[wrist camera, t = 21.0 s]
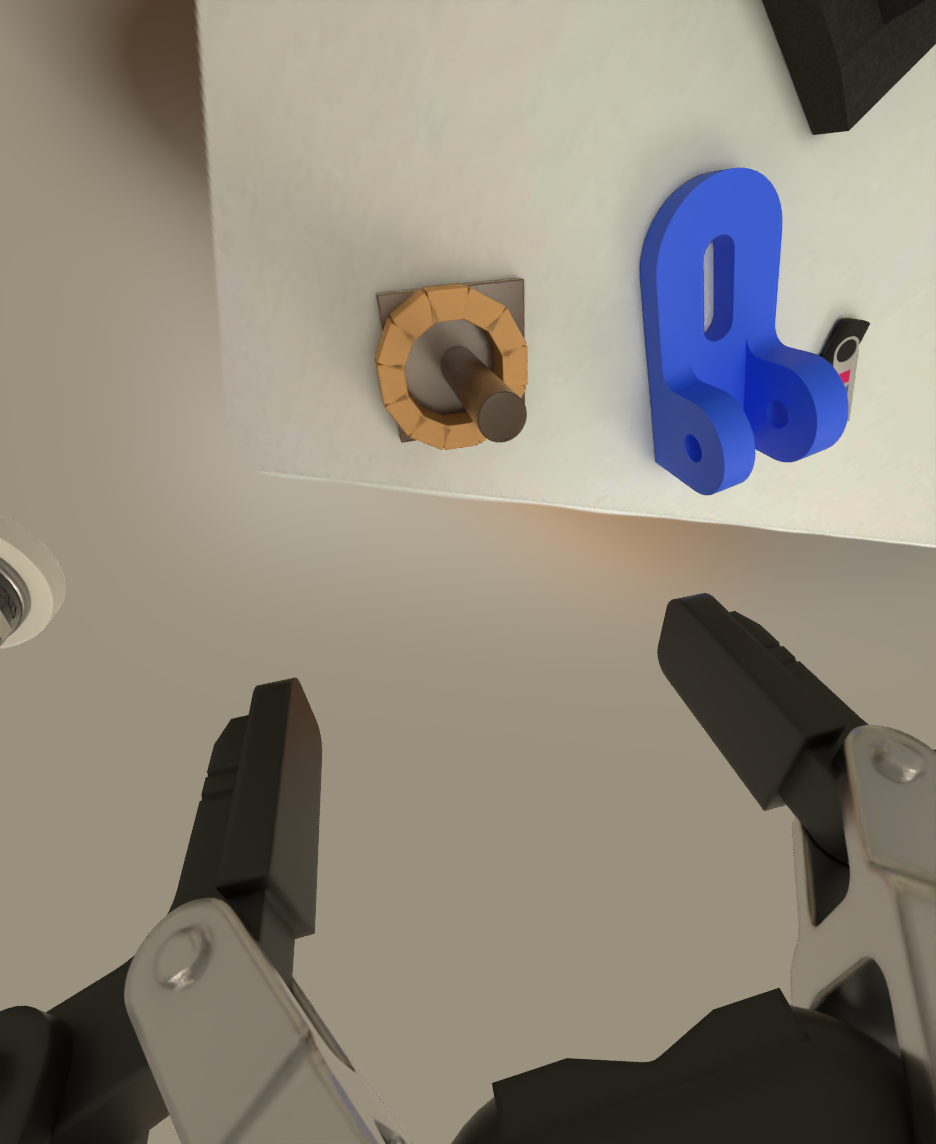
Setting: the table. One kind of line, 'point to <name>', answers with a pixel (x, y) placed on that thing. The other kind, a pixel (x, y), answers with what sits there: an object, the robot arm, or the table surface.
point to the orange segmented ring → (417, 320)
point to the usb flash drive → (846, 352)
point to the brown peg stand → (463, 365)
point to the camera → (849, 52)
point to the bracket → (727, 339)
